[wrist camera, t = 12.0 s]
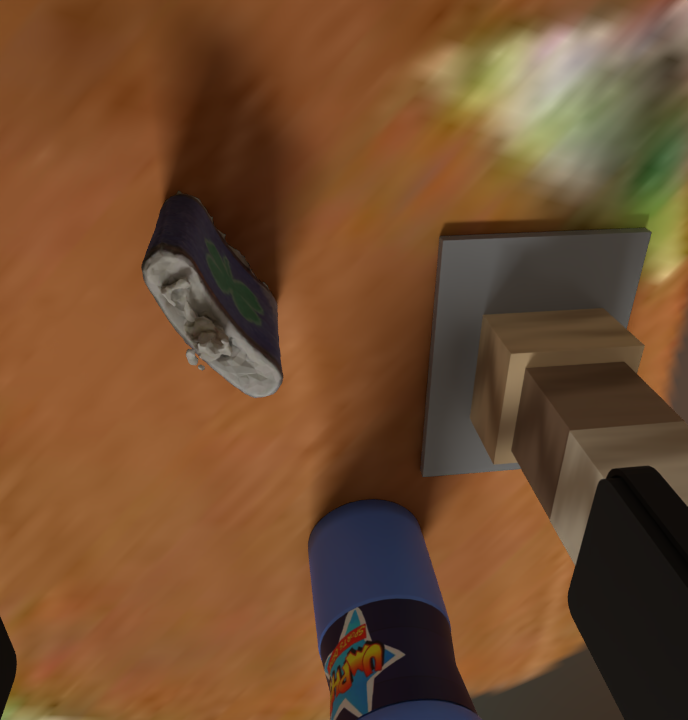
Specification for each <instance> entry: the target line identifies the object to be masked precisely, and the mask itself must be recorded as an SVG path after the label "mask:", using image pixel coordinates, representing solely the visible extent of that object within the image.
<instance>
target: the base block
mask: <svg viewBox="0 0 688 720" xmlns="http://www.w3.org/2000/svg"><path fill="white" fill-rule="evenodd" d="M644 346H645V345H644V344H642V343H641V342H640V341H639V340H638V339H637V338H636V337H635V336H634V335H632V334H631V333H630V332H629V331H628V330H627V329H626V328H625V327H624V326H622V325H621V324H620V323H619V322H618V321H617V320H616V319H615V318H614V317H612V316H611V315H610V314H609V313H608V312H607V311H606V310H605V309H604V308H596V309H578V310H560V311H542V312H524V313H506V314H488V315H483V318H482V326H481V334H480V342H479V350H478V358H477V365H476V373H475V381H474V389H473V397H472V405H471V413H470V420H471V422H472V424H473V426H474V428H475V429H476V431H477V433H478V435H479V437H480V439H481V441H482V443H483V445H484V447H485V449H486V451H487V453H488V455H489V457H490V459H491V461H492V463H493V465H496V464H508V463H518V462H517V460H516V459H515V457H514V455H513V453H512V452H511V448H512V442H513V437H514V431H515V425H516V419H517V414H518V408H519V402H520V396H521V391H522V385H523V379H524V373H525V368H533V367H548V366H564V365H579V364H594V363H610V362H625V363H626V364H627V365H628V366H629V367H630V368H631V369H632V370H633V371H634V372H635V373H636V374H637V371H638V367H639V364H640V360H641V357H642V353H643V350H644Z"/></svg>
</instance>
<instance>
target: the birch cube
mask: <svg viewBox="0 0 688 720" xmlns="http://www.w3.org/2000/svg"><path fill="white" fill-rule="evenodd" d="M636 466H651V467H653V468H655V469H656V470H657V471H658V472H659V473H660V474H661V476H662V477H663V478H664V479H665V480H666V481H667V483H668V484H669V485H670V486H671V487H672V489H673V490H674V491H675V492H676V493H677V494H678V496H679V497H680V498H681V499H682V500H683V502H684V503H685V504H686V505H687V506H688V425H687V424H686V423H685V422H684V421H680V422H668V423H656V424H644V425H632V426H620V427H607V428H595V429H583V430H571V431H569V436H568V440H567V445H566V449H565V454H564V458H563V463H562V467H561V472H560V476H559V481H558V485H557V490H556V494H555V499H554V504H553V508H552V513H551V517H550V522H551V523H552V525H553V527H554V529H555V531H556V532H557V534H558V536H559V538H560V539H561V541H562V543H563V545H564V546H565V548H566V550H567V552H568V554H569V555H570V557H571V559H572V561H573V562H574V564H575V565H576V562H577V558H578V554H579V551H580V547H581V543H582V540H583V536H584V532H585V529H586V525H587V521H588V518H589V514H590V510H591V506H592V503H593V499H594V495H595V492H596V488H597V485H598V482H599V481H600V480H601V479H606V477H607V475H608V472H609V471H610V470H611V469H615V468H625V467H636Z"/></svg>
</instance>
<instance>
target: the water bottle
mask: <svg viewBox="0 0 688 720" xmlns="http://www.w3.org/2000/svg"><path fill="white" fill-rule="evenodd" d="M308 554H309V564H310V573H311V583H312V593H313V602H314V612H315V621H316V630H317V639H318V648H319V654H320V657H321V660H322V663H323V667H324V671H325V674H326V678H327V682H328V686H329V690H330V720H482V719H481V718H480V717H479V716H478V714H477V712H476V710H475V707H474V705H473V703H472V700H471V698H470V696H469V693H468V691H467V689H466V687H465V684H464V682H463V680H462V677H461V675H460V673H459V671H458V668H457V666H456V662H455V656H454V650H453V643H452V637H451V627H450V621H449V618H448V615H447V611H446V608H445V605H444V602H443V598H442V595H441V592H440V589H439V585H438V582H437V579H436V576H435V573H434V569H433V566H432V563H431V560H430V557H429V554H428V550H427V547H426V544H425V541H424V538H423V535H422V532H421V528H420V526H419V523H418V521H417V519H416V518H415V517H414V515H413V514H412V513H411V512H410V511H408V510H407V509H406V508H404V507H403V506H400V505H398V504H396V503H393V502H389V501H385V500H375V499H372V500H360V501H356V502H351V503H348V504H346V505H343V506H340V507H338V508H336V509H335V510H333V511H331V512H329V513H328V514H327V515H326V516H324V517H323V518H322V519H321V520H320V521H319V522H318V523H317V525H316V526H315V527H314V529H313V531H312V533H311V534H310V538H309V542H308Z"/></svg>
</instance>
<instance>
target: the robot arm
mask: <svg viewBox="0 0 688 720" xmlns="http://www.w3.org/2000/svg"><path fill="white" fill-rule="evenodd" d="M568 605H569V609H570V613H571V615H572V618H573V620H574V622H575V624H576V626H577V628H578V630H579V632H580V633H581V635H582V637H583V639H584V641H585V643H586V645H587V647H588V649H589V651H590V653H591V655H592V657H593V659H594V661H595V663H596V665H597V667H598V669H599V671H600V672H601V674H602V676H603V678H604V680H605V682H606V684H607V686H608V688H609V690H610V692H611V694H612V696H613V698H614V700H615V702H616V704H617V706H618V707H619V710H620V711H621V713H622V715H623V717H624V719H625V720H688V506H687V505H686V504H685V503H684V502H683V500H682V499H681V498H680V497H679V496H678V494H677V493H676V492H675V491H674V490H673V489H672V487H671V486H670V485H669V484H668V483H667V481H666V480H665V479H664V478H663V477H662V476H661V474H660V473H659V472H658V471H657V470H656V469H655V468H653V467H651V466H636V467H625V468H615V469H611V470H610V471H609V472H608V475H607V477H606V479H601V480H600V481H599V482H598V485H597V488H596V492H595V495H594V499H593V503H592V506H591V510H590V514H589V518H588V521H587V525H586V529H585V532H584V536H583V540H582V543H581V547H580V551H579V554H578V558H577V562H576V565H575V569H574V573H573V577H572V580H571V584H570V588H569V591H568ZM16 665H17V661H16V654H15V651H14V648H13V646H12V643H11V641H10V639H9V636H8V634H7V631H6V629H5V627H4V624H3V622H2V620H1V617H0V720H1V717H2V714H3V711H4V708H5V705H6V702H7V699H8V697H9V694H10V691H11V688H12V685H13V682H14V678H15V674H16Z"/></svg>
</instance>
